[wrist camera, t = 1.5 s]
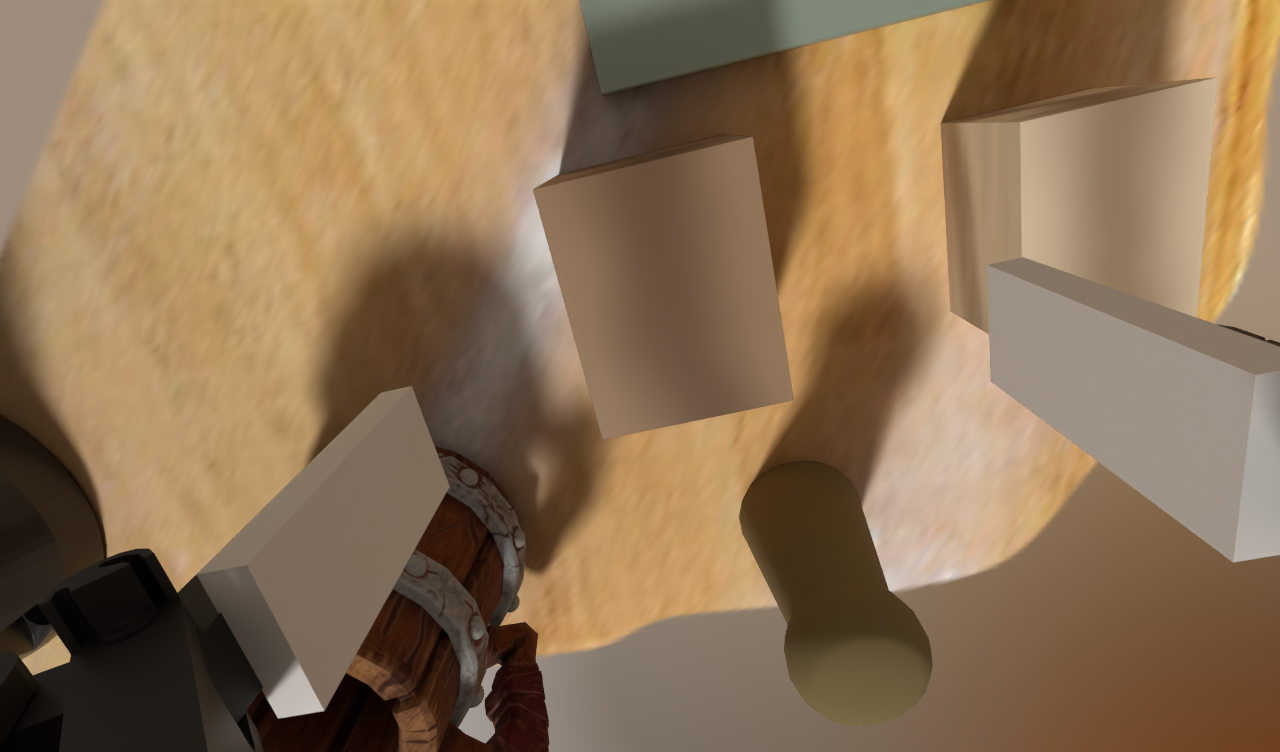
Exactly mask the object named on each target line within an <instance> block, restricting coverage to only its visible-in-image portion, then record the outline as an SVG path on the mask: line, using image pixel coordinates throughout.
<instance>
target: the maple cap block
mask: <svg viewBox="0 0 1280 752" xmlns="http://www.w3.org/2000/svg"><path fill="white" fill-rule="evenodd" d="M1217 80H1218V77H1217V78H1205V79H1194V80H1183V81H1171V82H1160V83H1148V84H1137V85H1125V86H1114V87H1102V88H1093V89H1089V90H1084V91H1080V92H1076V93H1071V94H1067V95H1063V96H1058V97H1054V98H1049V99H1045V100H1041V101H1036V102H1032V103H1028V104H1023V105H1019V106H1015V107H1010V108H1006V109H1002V110H997V111H993V112H988V113H984V114H980V115H975V116H971V117H967V118H962V119H958V120H954V121H949V122H945V123H941V140H942V159H943V178H944V197H945V217H946V236H947V255H948V275H949V294H950V311H951V312H952V313H954V314H956V315H957V316H959V317H961V318H962V319H964V320H966V321H967V322H969V323H971V324H973V325H974V326H976V327H978V328H979V329H981V330H983V331H984V332H986V333H988V334H989V313H988V284H987V265H989V264H994V263H998V262H1003V261H1008V260H1013V259H1017V258H1022V257H1024V258H1027V259H1030V260H1033V261H1036V262H1039V263H1041V264H1044V265H1047V266H1050V267H1053V268H1056V269H1059V270H1062V271H1064V272H1067V273H1070V274H1073V275H1076V276H1079V277H1082V278H1084V279H1087V280H1090V281H1093V282H1096V283H1099V284H1102V285H1105V286H1107V287H1110V288H1113V289H1116V290H1119V291H1122V292H1125V293H1127V294H1130V295H1133V296H1136V297H1139V298H1142V299H1145V300H1147V301H1150V302H1153V303H1156V304H1159V305H1162V306H1165V307H1168V308H1170V309H1173V310H1176V311H1179V312H1182V313H1185V314H1188V315H1190V316H1193V317H1196V318H1197V307H1198V296H1199V285H1200V273H1201V262H1202V250H1203V239H1204V228H1205V216H1206V205H1207V193H1208V182H1209V171H1210V159H1211V148H1212V137H1213V125H1214V114H1215V102H1216V91H1217Z"/></svg>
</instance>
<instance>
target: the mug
mask: <svg viewBox="0 0 1280 752" xmlns="http://www.w3.org/2000/svg"><path fill="white" fill-rule="evenodd" d="M435 449H436V452H437V454H438V457H439V460H440V462H441V465H442V468H443V470H444V473H445V475H446V478H447V481H448V483H449V486H450V487H449V489H448V490H447V492H446V494H445V496H444V498H443V499H442V501H441V503H440V505H439V507H438V508H437V510H436V512H435V514H434V515H433V517H432V519H431V521H430V523H429V524H428V526H427V528H426V530H425V532H424V533H423V535H422V537H421V539H420V541H419V542H418V544H417V546H416V548H415V550H414V551H413V553H412V555H411V557H410V558H409V560H408V562H407V564H406V566H405V567H404V569H403V571H402V573H401V575H400V576H399V578H398V580H397V582H396V584H395V585H394V587H393V589H392V591H391V593H390V594H389V596H388V598H387V600H386V601H385V603H384V605H383V607H382V609H381V610H380V612H379V614H378V616H377V618H376V619H375V621H374V623H373V625H372V627H371V628H370V630H369V632H368V634H367V636H366V637H365V639H364V641H363V643H362V645H361V646H360V648H359V650H358V652H357V653H356V655H355V657H354V659H353V661H352V662H351V664H350V666H349V668H348V670H347V671H346V673H345V675H344V677H343V679H342V680H341V682H340V684H339V686H338V688H337V689H336V691H335V693H334V695H333V696H332V698H331V700H330V702H329V704H328V705H327V707H326V709H325V711H322V712H315V713H309V714H303V715H297V716H291V717H285V718H279V719H278V717H277V716H276V714H275V712H274V710H273V709H272V707H271V705H270V703H269V702H268V700H267V698H266V696H265V695H264V693H263V691H262V690H261V691H260V692H259V694H258V695H257V697H256V698H255V700H254V701H253V703H252V704H251V705H250V707H249V708H248V710H247V712H248V714H249V716H250V718H251V719H252V721H253V723H254V724H255V726H256V728H257V730H258V733H259V737H260V740H261V744H262V747H263V751H264V752H549V749H548V745H549V736H548V727H549V720H548V714H547V710H546V705H545V702H544V700H545V694H544V688H543V680H542V674H541V671H539V667H538V665H537V663H536V649H537V639H538V634H537V633H536V632H535V631H534V630H533V629H532V628H531V627H530V626H529V625H528V624H527V623H525V622H523V623H516V624H510V625H503V626H499V625H500V624H501V622H502V621H503V619H504V617H505V615H506V613H507V612H513V611H515V610H516V609H517V608H518V606H519V597H518V596H517V593H518V591H519V588H520V586H521V583H522V581H523V576H524V565H525V554H526V543H525V540H526V536H525V533H524V532H523V531H522V530H521V528H520V525H519V522H518V519H517V516H516V513H515V511H514V509H513V506H510V505H509V503H508V502H507V501H506V500H505V499H506V497H507V496H506V494H505V493H504V492H503V491H502V489H501V488H500V487H499V486H498V484H497V483H496V482H495V481H494V479H493V478H492V477H491V476H490V475H489V473H487V472H486V471H484V470H483V469H481V468H480V467H478V466H476V465H475V464H473V463H472V462H470V461H469V460H467V459H466V458H464V457H462V456H461V455H459V454H458V453H456V452H452V451H449V450H445V449H441V448H438V447H435ZM497 663H498V664H500V665H501V666H502V667H501V668H500V669H499V670H498V671H497V673H496V675H495V678H494V681H493V684H492V691H491V692H490V694H489V695H488V696H487V697H486V699H485V709H486V715H487V717H488V718H489V720H490V721H491V722H493V725H494V728H495V734H494V735H493V736H492V737H491V738H490V740H489V741H488V742H487V743H486V744H485V743H483V742H480V741H479V740H477V739H474V738H472V737H470V736H468V735H466V734H465V733H463V732H462V731H461V730H460V729H459V728H458V727H459V725H460V724H461V722H462V720H463V718H464V717H465V715H466V713H467V712H468V710H469V708H472V707H476V706H478V705H479V704H480V703H481V702H482V700H483V697H484V689H483V687H482V686H481V683H482V680H483V677H484V675H485V673H486V669H487V668H489V667H491V666H493V665H495V664H497Z"/></svg>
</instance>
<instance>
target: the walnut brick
mask: <svg viewBox="0 0 1280 752" xmlns="http://www.w3.org/2000/svg"><path fill="white" fill-rule="evenodd" d="M533 191H534V195H535V199H536V202H537V206H538V209H539V213H540V217H541V220H542V224H543V227H544V231H545V235H546V238H547V242H548V245H549V249H550V253H551V256H552V260H553V263H554V267H555V271H556V274H557V278H558V281H559V285H560V288H561V292H562V296H563V299H564V303H565V306H566V310H567V314H568V317H569V321H570V324H571V328H572V332H573V335H574V339H575V342H576V346H577V350H578V353H579V357H580V360H581V364H582V368H583V371H584V375H585V378H586V382H587V386H588V389H589V393H590V396H591V400H592V404H593V407H594V411H595V414H596V418H597V422H598V425H599V429H600V432H601V436H602V440H604V439H609V438H614V437H618V436H623V435H628V434H633V433H638V432H643V431H648V430H652V429H657V428H662V427H667V426H672V425H677V424H682V423H686V422H691V421H696V420H701V419H706V418H711V417H716V416H720V415H725V414H730V413H735V412H740V411H745V410H750V409H754V408H759V407H764V406H769V405H774V404H779V403H783V402H788V401H793V400H794V397H793V391H792V385H791V378H790V372H789V365H788V359H787V352H786V346H785V340H784V333H783V327H782V320H781V314H780V308H779V301H778V295H777V288H776V282H775V276H774V269H773V263H772V256H771V250H770V244H769V237H768V231H767V224H766V218H765V212H764V205H763V199H762V192H761V186H760V180H759V173H758V167H757V160H756V154H755V148H754V141H753V137H750V136H739V135H728V134H724V135H720V136H716V137H712V138H708V139H704V140H700V141H696V142H691V143H687V144H683V145H679V146H675V147H671V148H667V149H662V150H658V151H654V152H650V153H646V154H642V155H638V156H633V157H629V158H625V159H621V160H617V161H613V162H609V163H604V164H600V165H596V166H592V167H588V168H584V169H580V170H575V171H571V172H567V173H563V174H559V175H557V176H555V177H554V178H552V179H550V180H549V181H547V182H545V183H543V184H542V185H540V186H538V187H537V188H535V189H533Z"/></svg>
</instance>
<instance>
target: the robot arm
mask: <svg viewBox="0 0 1280 752" xmlns="http://www.w3.org/2000/svg"><path fill="white" fill-rule="evenodd" d="M987 284H988V313H989V341H990V370H991V382H992V383H994V384H995V385H996V386H998V387H999V388H1000V389H1002V390H1003V391H1004V392H1006V393H1007V394H1008V395H1010V396H1011V397H1012V398H1014V399H1015V400H1017V401H1018V402H1019V403H1021V404H1022V405H1023V406H1025V407H1026V408H1027V409H1029V410H1030V411H1031V412H1033V413H1034V414H1035V415H1037V416H1038V417H1039V418H1041V419H1042V420H1043V421H1045V422H1046V423H1047V424H1049V425H1050V426H1051V427H1053V428H1054V429H1055V430H1057V431H1058V432H1059V433H1061V434H1062V435H1063V436H1065V437H1066V438H1067V439H1069V440H1070V441H1071V442H1073V443H1074V444H1075V445H1077V446H1078V447H1079V448H1081V449H1082V450H1083V451H1085V452H1086V453H1087V454H1089V455H1090V456H1091V457H1093V458H1094V459H1095V460H1097V461H1098V462H1100V463H1101V464H1102V465H1104V466H1105V467H1106V468H1108V469H1109V470H1110V471H1112V472H1113V473H1114V474H1116V475H1117V476H1118V477H1120V478H1121V479H1122V480H1124V481H1125V482H1126V483H1128V484H1129V485H1130V486H1132V487H1133V488H1134V489H1136V490H1137V491H1139V492H1140V493H1141V494H1142V495H1144V496H1145V497H1146V498H1148V499H1149V500H1150V501H1152V502H1153V503H1154V504H1156V505H1157V506H1159V507H1160V508H1161V509H1163V510H1164V511H1165V512H1166V513H1168V514H1169V515H1170V516H1172V517H1173V518H1174V519H1176V520H1177V521H1179V522H1180V523H1181V524H1183V525H1184V526H1185V527H1187V528H1188V529H1189V530H1191V531H1192V532H1193V533H1195V534H1196V535H1197V536H1199V537H1200V538H1201V539H1203V540H1204V541H1205V542H1207V543H1208V544H1210V545H1211V546H1212V547H1213V548H1215V549H1216V550H1217V551H1219V552H1220V553H1221V554H1223V555H1224V556H1225V557H1227V558H1228V559H1229V560H1231V561H1232V562H1238V561H1244V560H1250V559H1257V558H1263V557H1269V556H1275V555H1280V343H1279V342H1276V341H1273V340H1267V341H1266V340H1265V338H1264V337H1261V336H1258V335H1255V334H1252V333H1250V332H1247V331H1244V330H1241V329H1238V328H1235V327H1230V326H1223V325H1217V324H1213V323H1211V322H1208V321H1205V320H1202V319H1199V318H1196V317H1193V316H1190V315H1188V314H1185V313H1182V312H1179V311H1176V310H1173V309H1170V308H1168V307H1165V306H1162V305H1159V304H1156V303H1153V302H1150V301H1147V300H1145V299H1142V298H1139V297H1136V296H1133V295H1130V294H1127V293H1125V292H1122V291H1119V290H1116V289H1113V288H1110V287H1107V286H1105V285H1102V284H1099V283H1096V282H1093V281H1090V280H1087V279H1084V278H1082V277H1079V276H1076V275H1073V274H1070V273H1067V272H1064V271H1062V270H1059V269H1056V268H1053V267H1050V266H1047V265H1044V264H1041V263H1039V262H1036V261H1033V260H1030V259H1027V258H1024V257H1022V258H1017V259H1013V260H1008V261H1003V262H998V263H994V264H989V265H987ZM449 487H450V486H449V483H448V481H447V478H446V475H445V473H444V470H443V468H442V465H441V462H440V460H439V457H438V454H437V452H436V449H435V446H434V444H433V441H432V438H431V436H430V433H429V430H428V428H427V425H426V422H425V420H424V417H423V415H422V412H421V409H420V407H419V404H418V401H417V399H416V396H415V393H414V391H413V388H412V386H409V387H405V388H400V389H395V390H390V391H386V392H381V393H380V394H379V395H378V396H377V397H376V398H375V399H374V400H373V401H372V402H371V403H370V404H369V405H368V406H367V407H366V408H365V409H364V410H363V411H362V412H361V413H360V414H359V415H358V416H357V417H356V418H355V419H354V420H353V421H352V422H351V423H350V424H349V425H348V426H347V427H346V428H344V429H343V430H342V431H341V432H340V433H339V434H338V435H337V436H336V437H335V438H334V439H333V440H332V441H331V442H330V443H329V444H328V445H327V446H326V447H325V448H324V449H323V450H322V451H321V452H320V453H319V454H318V455H317V456H316V457H315V458H314V459H313V460H312V461H311V462H310V463H309V464H308V465H307V466H306V467H305V468H304V469H303V470H302V471H301V472H300V473H299V474H298V475H297V476H296V477H295V478H294V479H293V480H292V481H291V482H290V483H289V484H288V485H287V486H286V487H285V488H284V489H283V490H282V491H281V492H280V493H279V494H278V495H277V496H276V497H275V498H274V499H272V500H271V501H270V502H269V503H268V504H267V505H266V506H265V507H264V508H263V509H262V510H261V511H260V512H259V513H258V514H257V515H256V516H255V517H254V518H253V519H252V520H251V521H250V522H249V523H248V524H247V525H246V526H245V527H244V528H243V529H242V530H241V531H240V532H239V533H238V534H237V535H236V536H235V537H234V538H233V539H232V540H231V541H230V542H229V543H228V544H227V545H226V546H225V547H224V548H223V549H222V550H221V551H220V552H219V553H218V554H217V555H216V556H215V557H214V558H213V559H212V560H211V561H210V562H209V563H208V564H207V565H206V566H205V567H204V568H202V569H201V570H200V571H199V572H198V573H197V574H196V575H195V576H194V577H193V578H192V579H191V580H190V581H189V582H188V583H187V584H186V585H185V586H184V587H183V588H182V589H181V590H180V591H179V592H178V593H177V592H176V590H175V588H174V586H173V585H172V583H171V581H170V580H169V578H168V576H167V575H166V573H165V571H164V569H163V568H162V566H161V564H160V563H159V561H158V559H157V558H156V556H155V554H154V553H153V552H152V551H151V550H150V549H134V550H130V551H126V552H122V553H119V554H116V555H114V556H111V557H109V558H106V559H104V551H103V543H102V538H101V533H100V530H99V527H98V524H97V521H96V519H95V516H94V514H93V512H92V509H91V507H90V505H89V503H88V502H87V500H86V498H85V496H84V495H83V493H82V492H81V490H80V489H79V487H78V486H77V484H76V483H75V482H74V480H73V479H72V478H71V476H70V475H69V474H68V473H67V472H66V470H65V469H64V468H63V467H62V466H61V465H60V464H59V463H58V462H57V460H56V459H55V458H54V457H53V456H52V455H50V454H49V453H48V452H47V451H46V450H45V449H44V448H43V447H42V446H41V445H39V444H38V443H37V442H36V441H35V440H33V439H32V438H31V437H29V436H28V435H27V434H25V433H24V432H23V431H21V430H20V429H18V428H17V427H15V426H14V425H12V424H11V423H9V422H7V421H6V420H4V419H2V418H1V417H0V752H264V751H263V747H262V744H261V740H260V737H259V733H258V730H257V728H256V726H255V724H254V723H253V721H252V719H251V718H250V716H249V714H248V712H247V710H248V708H249V707H250V705H251V704H252V703H253V701H254V700H255V698H256V697H257V695H258V694H259V692H260V691H261V690H262V691H263V693H264V695H265V696H266V698H267V700H268V702H269V703H270V705H271V707H272V709H273V710H274V712H275V714H276V716H277V717H278V719H279V718H285V717H291V716H297V715H303V714H309V713H315V712H322V711H325V709H326V707H327V705H328V704H329V702H330V700H331V698H332V696H333V695H334V693H335V691H336V689H337V688H338V686H339V684H340V682H341V680H342V679H343V677H344V675H345V673H346V671H347V670H348V668H349V666H350V664H351V662H352V661H353V659H354V657H355V655H356V653H357V652H358V650H359V648H360V646H361V645H362V643H363V641H364V639H365V637H366V636H367V634H368V632H369V630H370V628H371V627H372V625H373V623H374V621H375V619H376V618H377V616H378V614H379V612H380V610H381V609H382V607H383V605H384V603H385V601H386V600H387V598H388V596H389V594H390V593H391V591H392V589H393V587H394V585H395V584H396V582H397V580H398V578H399V576H400V575H401V573H402V571H403V569H404V567H405V566H406V564H407V562H408V560H409V558H410V557H411V555H412V553H413V551H414V550H415V548H416V546H417V544H418V542H419V541H420V539H421V537H422V535H423V533H424V532H425V530H426V528H427V526H428V524H429V523H430V521H431V519H432V517H433V515H434V514H435V512H436V510H437V508H438V507H439V505H440V503H441V501H442V499H443V498H444V496H445V494H446V492H447V490H448V489H449ZM56 635H58V636H59V637H60V639H61V640H62V642H63V643H64V645H65V646H66V648H67V649H68V651H69V652H70V654H71V658H70V662H68V663H66V664H63V665H60V666H58V667H55V668H52V669H49V670H47V671H44V672H41V673H38V674H36V675H32V674H31V673H30V671H29V670H28V668H27V667H26V666H25V664H24V663H23V662H22V660H21V659H23V658H25V657H27V656H29V655H30V654H32V653H34V652H35V651H37V650H38V649H40V648H41V647H43V646H44V645H45V644H47V643H48V642H49V641H50V640H52V639H53V638H54V637H55V636H56Z"/></svg>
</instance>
